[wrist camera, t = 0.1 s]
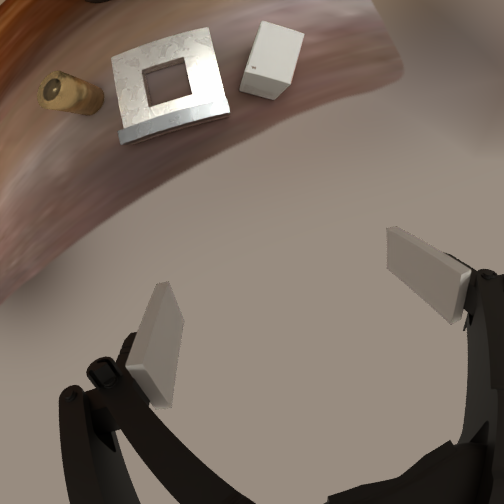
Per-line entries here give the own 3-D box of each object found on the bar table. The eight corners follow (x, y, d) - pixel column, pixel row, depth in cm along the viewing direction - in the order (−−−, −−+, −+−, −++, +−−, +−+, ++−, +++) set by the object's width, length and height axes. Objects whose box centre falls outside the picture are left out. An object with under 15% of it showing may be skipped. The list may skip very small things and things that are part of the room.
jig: (116, 61, 31) (103, 52, 26) (208, 33, 31) (207, 18, 26) (132, 145, 36) (120, 144, 31) (228, 117, 37) (229, 112, 32)
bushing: (76, 94, 31) (36, 82, 20) (102, 81, 32) (65, 64, 20) (80, 120, 33) (39, 115, 22) (106, 108, 33) (69, 97, 22)
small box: (274, 101, 36) (291, 86, 27) (237, 91, 35) (243, 72, 26) (287, 57, 34) (306, 33, 24) (252, 47, 33) (261, 19, 23)
